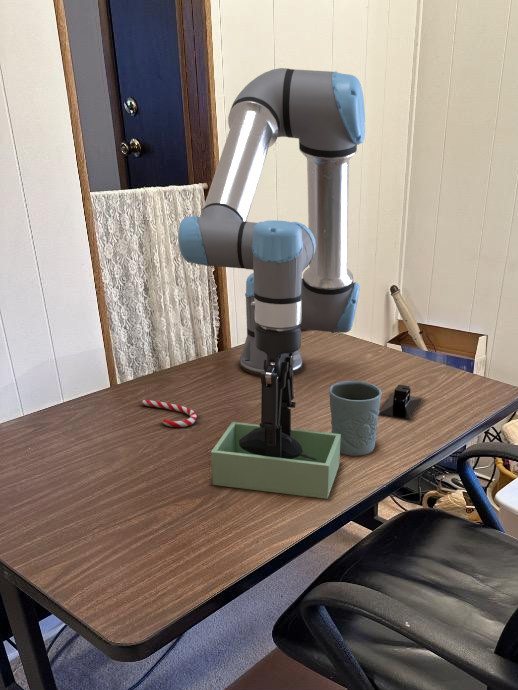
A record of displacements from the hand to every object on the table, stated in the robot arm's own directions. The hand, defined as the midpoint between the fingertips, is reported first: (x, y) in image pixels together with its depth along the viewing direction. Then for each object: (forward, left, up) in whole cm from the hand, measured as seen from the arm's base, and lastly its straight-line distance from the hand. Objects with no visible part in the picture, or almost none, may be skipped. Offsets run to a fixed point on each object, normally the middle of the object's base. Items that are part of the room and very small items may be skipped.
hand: (278, 450), depth 124 cm
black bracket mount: (-37, +19, -5) cm, 42 cm away
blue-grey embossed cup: (-15, +11, -5) cm, 20 cm away
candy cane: (-19, -29, -5) cm, 35 cm away
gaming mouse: (0, 0, 0) cm, 1 cm away
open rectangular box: (0, 0, -5) cm, 5 cm away
